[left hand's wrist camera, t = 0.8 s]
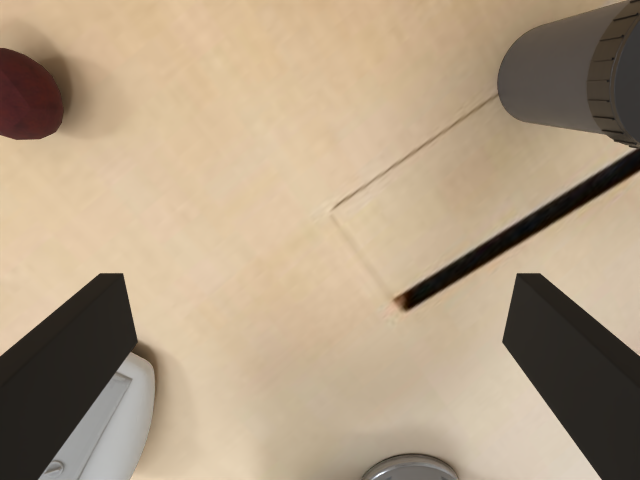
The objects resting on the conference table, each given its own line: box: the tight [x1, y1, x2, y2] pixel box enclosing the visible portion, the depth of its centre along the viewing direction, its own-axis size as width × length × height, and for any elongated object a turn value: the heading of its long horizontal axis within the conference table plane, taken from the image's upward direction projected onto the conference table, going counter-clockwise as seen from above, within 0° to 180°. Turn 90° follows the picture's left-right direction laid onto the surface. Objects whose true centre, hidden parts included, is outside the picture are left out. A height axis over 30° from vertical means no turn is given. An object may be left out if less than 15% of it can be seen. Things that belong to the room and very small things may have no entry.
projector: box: [38, 352, 155, 480], centre depth 44 cm, size 22×23×15 cm
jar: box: [498, 0, 631, 135], centre depth 29 cm, size 9×9×16 cm
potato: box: [0, 48, 63, 140], centre depth 33 cm, size 7×8×7 cm
